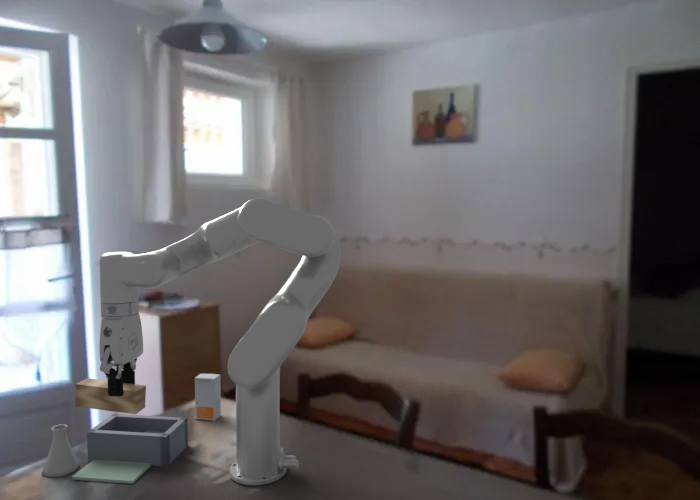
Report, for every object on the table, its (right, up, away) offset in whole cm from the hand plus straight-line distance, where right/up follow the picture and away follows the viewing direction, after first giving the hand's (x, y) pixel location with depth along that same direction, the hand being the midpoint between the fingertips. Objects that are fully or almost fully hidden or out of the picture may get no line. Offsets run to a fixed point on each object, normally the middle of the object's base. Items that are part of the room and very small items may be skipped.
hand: (121, 391), depth 116 cm
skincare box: (+10, -16, +33) cm, 38 cm away
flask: (-15, -19, +3) cm, 24 cm away
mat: (-3, -19, +2) cm, 19 cm away
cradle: (0, -18, +11) cm, 21 cm away
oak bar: (-3, -4, +1) cm, 5 cm away
